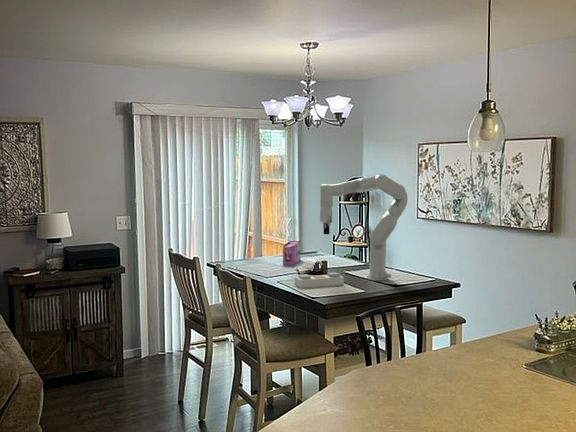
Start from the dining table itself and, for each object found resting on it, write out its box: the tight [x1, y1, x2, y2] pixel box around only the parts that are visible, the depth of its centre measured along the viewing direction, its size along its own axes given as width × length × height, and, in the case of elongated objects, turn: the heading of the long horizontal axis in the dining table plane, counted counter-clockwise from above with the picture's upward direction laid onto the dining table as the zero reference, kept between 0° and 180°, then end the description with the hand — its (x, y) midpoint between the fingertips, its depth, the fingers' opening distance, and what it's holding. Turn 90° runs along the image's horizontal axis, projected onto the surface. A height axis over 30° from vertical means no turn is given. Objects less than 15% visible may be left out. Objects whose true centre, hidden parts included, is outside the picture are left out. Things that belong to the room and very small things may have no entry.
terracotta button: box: [312, 274, 325, 278], centre depth 328 cm, size 5×5×3 cm
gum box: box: [282, 240, 302, 266], centre depth 400 cm, size 24×8×14 cm, turn 166°
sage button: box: [298, 273, 312, 279], centre depth 326 cm, size 5×5×3 cm
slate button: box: [327, 272, 340, 277], centre depth 331 cm, size 5×5×3 cm
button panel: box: [294, 274, 345, 289], centre depth 329 cm, size 27×9×4 cm, turn 107°
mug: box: [301, 258, 324, 272], centre depth 365 cm, size 12×10×8 cm
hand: (326, 234), depth 346 cm, fingers closed
